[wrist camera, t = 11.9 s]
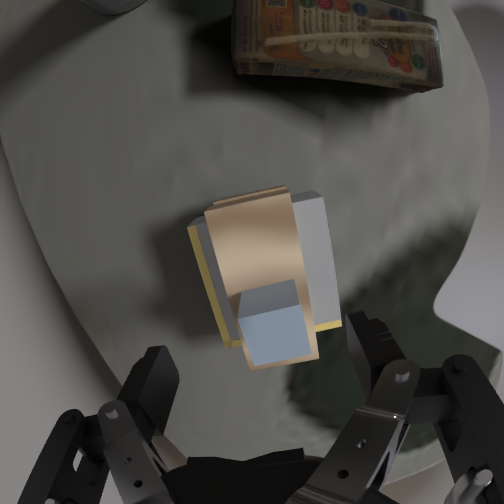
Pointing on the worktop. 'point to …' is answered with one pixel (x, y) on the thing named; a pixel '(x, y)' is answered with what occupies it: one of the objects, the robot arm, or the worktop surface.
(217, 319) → the dock
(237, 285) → the tan rectangular block
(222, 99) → the worktop surface
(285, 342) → the pale blue cube
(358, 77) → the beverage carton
